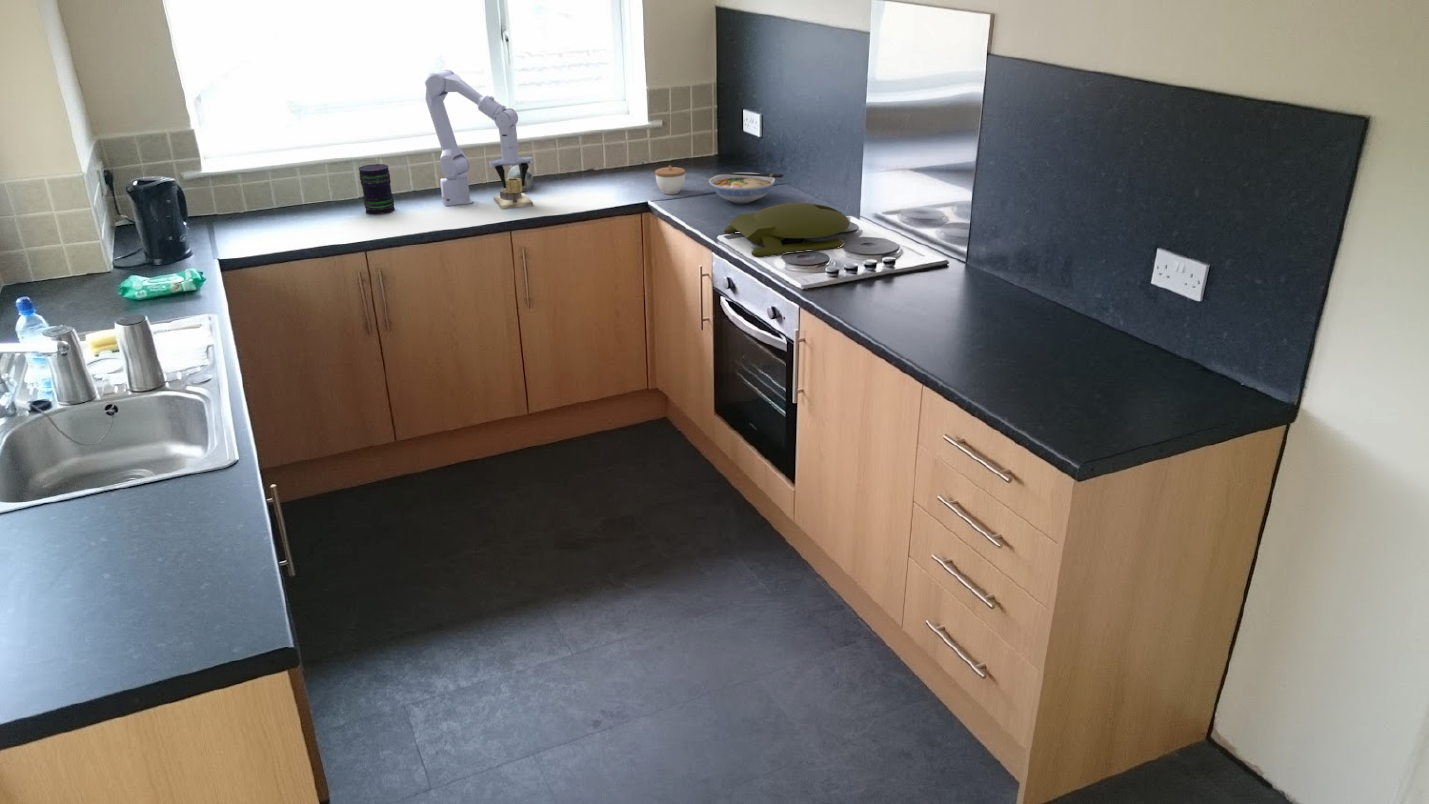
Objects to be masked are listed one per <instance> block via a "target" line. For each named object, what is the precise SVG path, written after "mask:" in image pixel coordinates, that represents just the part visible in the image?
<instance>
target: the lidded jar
mask: <svg viewBox="0 0 1429 804" xmlns="http://www.w3.org/2000/svg"><path fill="white" fill-rule="evenodd" d="M654 174H655V183H656V185H657V187H658V189H659V190H660V191H661V192H662V194H665V195H674V194H675V195H676V194H679V193H680V191H682V189H683V188H684V185H685V183H686V182H685V181H686V170H685V168H682V167H678V166H677V167H675V166H674V167H672V165H668V167H660V168H658V169H656V170H655V171H654Z"/></svg>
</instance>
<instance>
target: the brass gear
mask: <svg viewBox="0 0 1429 804" xmlns="http://www.w3.org/2000/svg"><path fill="white" fill-rule="evenodd" d="M505 182H506V188H504V189H506V192H508V193H518V192H521V193H523V192H524V191H523V190H522V179H520V178H509V179H508V178H505Z"/></svg>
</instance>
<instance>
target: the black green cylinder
mask: <svg viewBox="0 0 1429 804" xmlns="http://www.w3.org/2000/svg"><path fill="white" fill-rule="evenodd" d="M358 172H359V180H360V185H361V187H362V192H363V193H362V194H363V196H362V197H363V205H364V209H365V214H367V215H372V216H377V215H379V216H380V215H386V214H390V213H393V212H395V211H396V208H395V204H394V203H395V200H394V194H393V193H392V188H391V187H392V186H391V173H390V170H389V165H387V164H382V163H381V164H380V163H378V164H377V163H375V164H367V165H363V166H359V167H358Z"/></svg>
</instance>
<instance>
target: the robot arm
mask: <svg viewBox="0 0 1429 804" xmlns="http://www.w3.org/2000/svg"><path fill="white" fill-rule="evenodd" d="M424 84H425V87H426V88H425V89H426V90H425V102H426V105H427V109H428V111H429V113H430V118H431V120H432V121H431V122H432V124H433V126H434V130H435V132H436V136H437V139H438V141H439V145H440V148H441V155H440V157H439V159H440V164H441V165H440V170H441V173H442V175H443V176H444V178H440V180H439V181H440V182H439V183H440V190H441V191H440V192H441V201H442V203H443V204H444V205H445V207H449V206H457V205H466V204H474V202H473V200H472V199H471V196H470V186H469V180H468V171H469V169H470V161H469V158H467V157H466V155H465V153H464V151H463V150H462V148H461V147H459V146H458V143H457V141H456V136H455V134H454V130H453V127H452V124H451V120H450V119H449V115H448V112H447V110H446V109H447V108H446V106H445V102H444V101H445V99H446V97H447V95H448V93H458V94H459V95H461V96H463V97H464V98H466V99H467V100H470V102H472V103H474V104H476V105H477V108H478V111H480V112H481V113H482V114H483V115H485V116H486V117H488V118H489V119H491V121H493V122H494V123H495V126H496V127H497V128H498V132H499V144H500V149H501V150H500V151H501V159H500V158H499V159H495V160H494V159H493V160H489V161H488V164H489V167H490V169H492V168H493V169H495V170H496V173H497V174H498V176H499V178H500V182H501V184H502V188H503V189H505V188H506V182H505V179H506V177H505V174H506V173H505V168H504V167H508V166H516V165H519V170H520V179H522V186H524V182H525V176H526V173H527V170H528V168H529V165H531V164H534V161H533V157H532V156H527V157H526V156H524V157H520V153H519V152H520V151H519V142H518V132H517V123H518V122H519V116H518V113H517V112H516V111H515V110H514V109H513V108H511V107H508V108H507V107H506V106H505V105H504V104H503V105H502V104H501V103H499V102H498V101H497V100H495V97H494V96H493V95H491V96H489V95H482V94H480V92H478V91H477V90H476V89H475V88H473V87H472V86H470V85H469V84H468V83H467V82H466V81H464V80H463V79H462V78H461V76H460V75H459V74H458V73H455V72H454V71H452V70H451V69H444V70H442V71H439V72H434V73H430V74H429V76H428V77H427V78H426V80H425V82H424Z"/></svg>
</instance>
